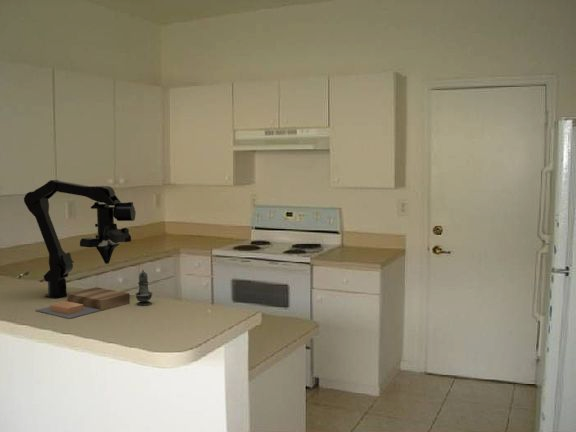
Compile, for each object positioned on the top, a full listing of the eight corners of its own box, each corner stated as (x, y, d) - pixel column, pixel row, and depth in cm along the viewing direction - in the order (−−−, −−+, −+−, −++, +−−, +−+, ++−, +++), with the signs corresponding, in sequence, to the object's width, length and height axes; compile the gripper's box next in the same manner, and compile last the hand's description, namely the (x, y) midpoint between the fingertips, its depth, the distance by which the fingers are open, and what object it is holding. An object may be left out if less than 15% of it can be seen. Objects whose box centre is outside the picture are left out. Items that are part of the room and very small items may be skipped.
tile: (66, 301, 195) (66, 306, 195) (50, 304, 190) (50, 310, 190) (83, 304, 190) (83, 310, 190) (67, 308, 185) (67, 314, 185)
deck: (67, 303, 201) (67, 293, 201) (96, 296, 211) (95, 287, 211) (101, 310, 191) (100, 300, 191) (129, 303, 201) (129, 293, 201)
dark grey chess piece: (155, 302, 202) (154, 268, 201) (149, 306, 197) (148, 271, 195) (138, 301, 203) (137, 268, 202) (132, 305, 197) (131, 271, 196)
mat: (35, 311, 191) (35, 310, 191) (67, 303, 201) (67, 302, 201) (69, 319, 181) (69, 318, 181) (101, 310, 191) (101, 309, 191)
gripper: (98, 224, 197) (100, 270, 198) (140, 219, 212) (142, 261, 214) (78, 222, 203) (79, 266, 205) (120, 218, 218) (121, 259, 220)
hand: (107, 263), depth 211 cm, fingers closed
